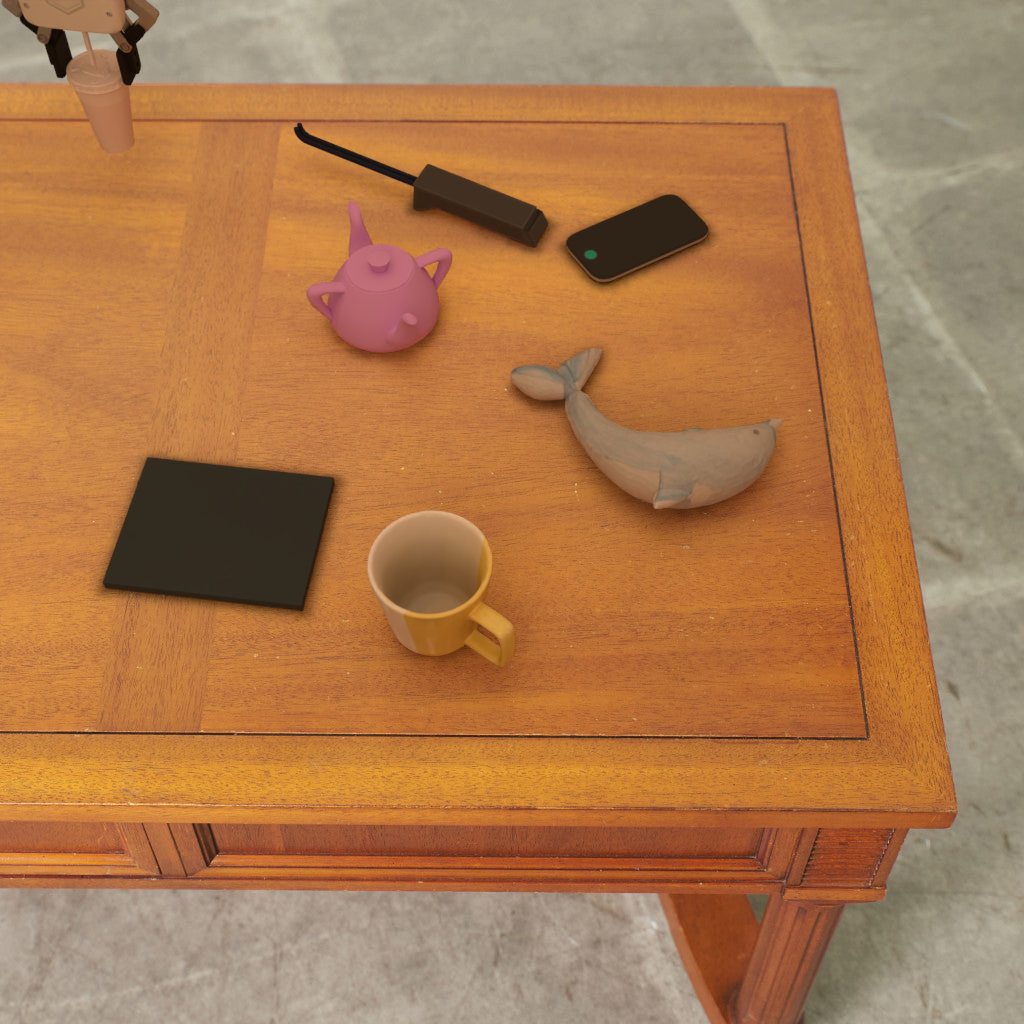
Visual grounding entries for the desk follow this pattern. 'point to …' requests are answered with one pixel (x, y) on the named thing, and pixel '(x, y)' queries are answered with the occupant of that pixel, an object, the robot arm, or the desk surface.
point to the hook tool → (453, 195)
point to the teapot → (381, 293)
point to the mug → (438, 586)
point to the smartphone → (636, 238)
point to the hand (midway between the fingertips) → (98, 72)
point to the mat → (221, 533)
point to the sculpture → (654, 443)
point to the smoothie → (103, 97)
